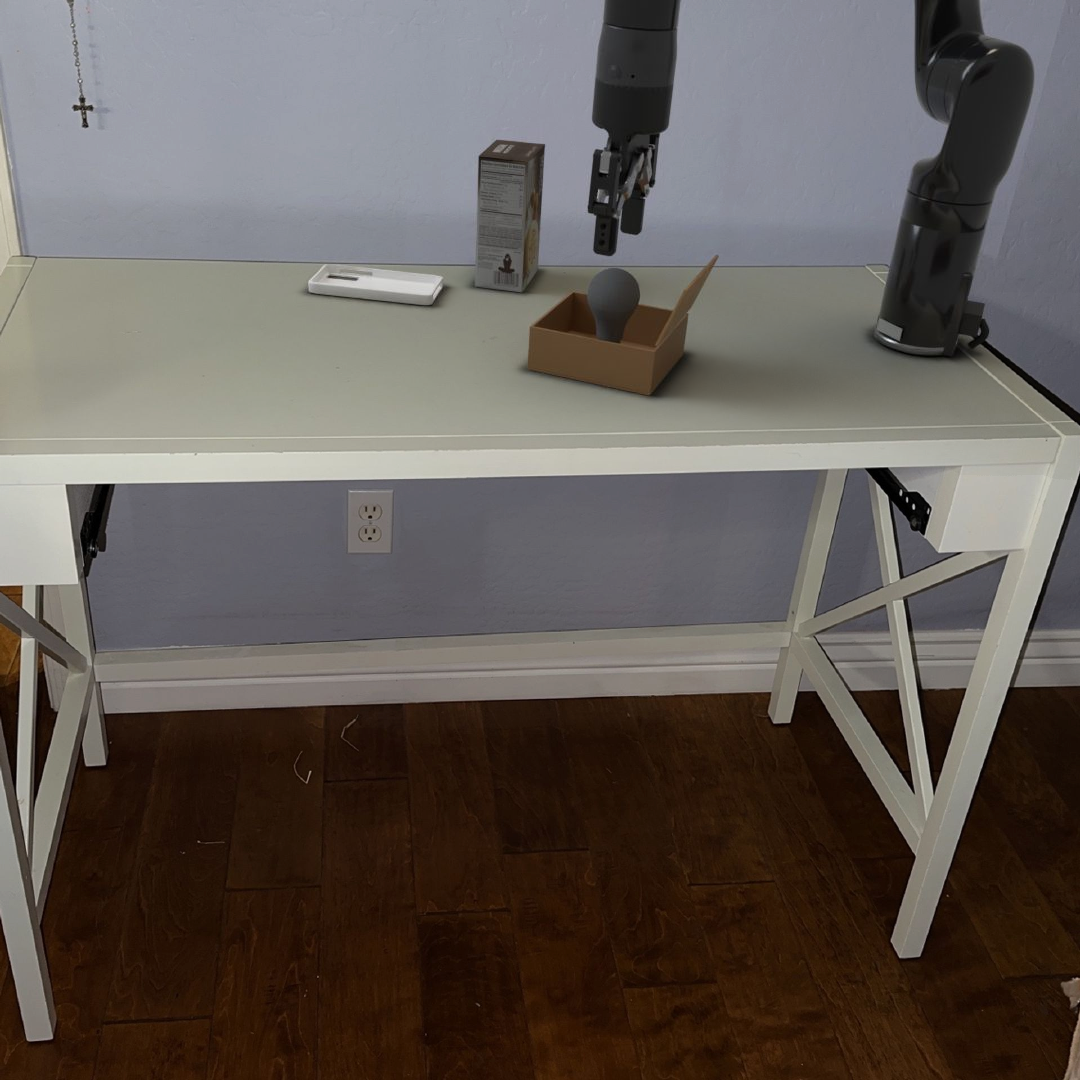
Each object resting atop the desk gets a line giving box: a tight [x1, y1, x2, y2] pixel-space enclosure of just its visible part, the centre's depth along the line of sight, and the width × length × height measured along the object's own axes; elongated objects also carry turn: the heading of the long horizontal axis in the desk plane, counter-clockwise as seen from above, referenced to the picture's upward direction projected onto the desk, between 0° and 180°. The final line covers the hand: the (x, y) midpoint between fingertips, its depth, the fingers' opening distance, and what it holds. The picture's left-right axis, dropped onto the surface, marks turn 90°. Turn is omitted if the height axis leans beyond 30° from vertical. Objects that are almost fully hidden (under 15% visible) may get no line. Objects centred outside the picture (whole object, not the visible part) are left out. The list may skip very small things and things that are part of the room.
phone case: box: [307, 263, 444, 306], centre depth 141 cm, size 7×1×15 cm
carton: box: [526, 290, 689, 396], centre depth 125 cm, size 14×13×5 cm
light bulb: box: [586, 267, 641, 344], centre depth 123 cm, size 6×6×10 cm
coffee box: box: [474, 139, 546, 293], centre depth 143 cm, size 9×6×16 cm
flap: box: [655, 254, 720, 347], centre depth 119 cm, size 7×12×1 cm
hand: (617, 243), depth 119 cm, fingers open, 8 cm apart
